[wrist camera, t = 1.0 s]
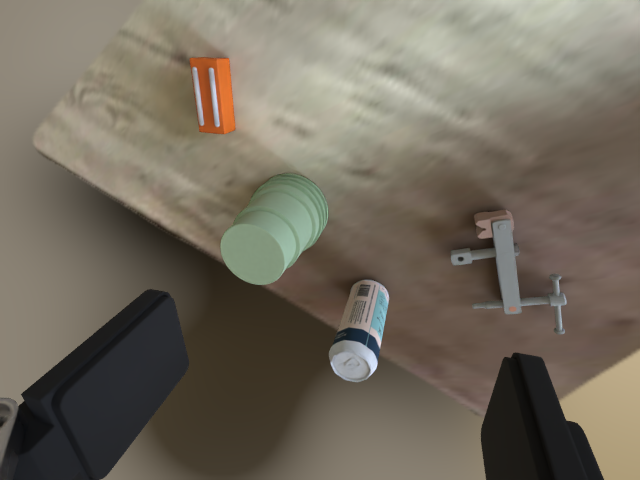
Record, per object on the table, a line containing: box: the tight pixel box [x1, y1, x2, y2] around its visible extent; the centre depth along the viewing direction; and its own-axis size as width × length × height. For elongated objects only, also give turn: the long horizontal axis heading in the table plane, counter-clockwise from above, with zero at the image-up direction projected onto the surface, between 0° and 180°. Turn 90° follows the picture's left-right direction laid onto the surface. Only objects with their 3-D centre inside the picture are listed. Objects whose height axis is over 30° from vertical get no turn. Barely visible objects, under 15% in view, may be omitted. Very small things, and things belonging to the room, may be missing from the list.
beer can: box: [329, 280, 389, 382], centre depth 39 cm, size 5×5×12 cm
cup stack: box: [220, 173, 328, 285], centre depth 37 cm, size 9×9×11 cm
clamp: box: [451, 209, 566, 334], centre depth 37 cm, size 15×2×10 cm
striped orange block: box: [190, 57, 235, 134], centre depth 36 cm, size 7×3×3 cm, turn 179°
